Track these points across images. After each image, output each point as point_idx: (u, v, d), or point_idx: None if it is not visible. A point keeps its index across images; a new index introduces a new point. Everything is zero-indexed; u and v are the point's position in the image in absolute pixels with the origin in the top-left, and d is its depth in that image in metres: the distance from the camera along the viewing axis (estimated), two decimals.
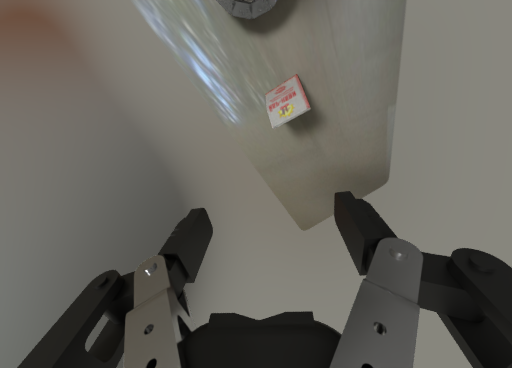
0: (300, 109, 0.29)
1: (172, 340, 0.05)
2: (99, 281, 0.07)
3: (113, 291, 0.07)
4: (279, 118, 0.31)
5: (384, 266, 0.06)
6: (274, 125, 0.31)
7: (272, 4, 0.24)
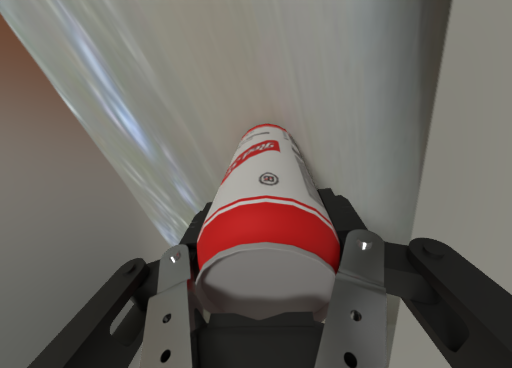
0: None
1: (186, 335, 0.05)
2: (127, 268, 0.07)
3: (141, 277, 0.07)
4: None
5: (349, 254, 0.06)
6: None
7: None
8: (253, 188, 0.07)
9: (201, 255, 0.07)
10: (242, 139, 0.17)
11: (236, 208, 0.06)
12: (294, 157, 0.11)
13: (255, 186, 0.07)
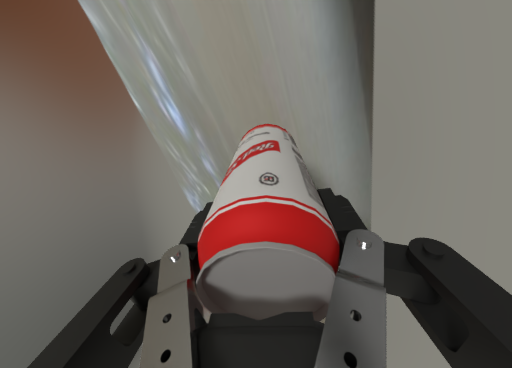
0: None
1: (186, 335, 0.05)
2: (127, 268, 0.07)
3: (141, 277, 0.07)
4: None
5: (349, 254, 0.06)
6: None
7: None
8: (254, 188, 0.07)
9: (202, 254, 0.07)
10: (242, 139, 0.17)
11: (236, 208, 0.06)
12: (294, 157, 0.11)
13: (255, 186, 0.07)
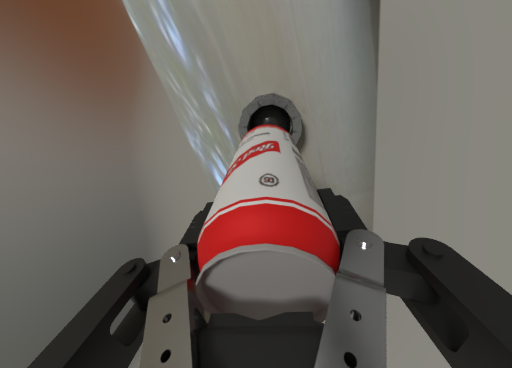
0: None
1: (187, 335, 0.05)
2: (127, 268, 0.07)
3: (141, 277, 0.07)
4: None
5: (349, 254, 0.06)
6: None
7: None
8: (254, 189, 0.07)
9: (201, 256, 0.07)
10: (242, 140, 0.17)
11: (236, 209, 0.06)
12: (294, 158, 0.11)
13: (255, 187, 0.07)
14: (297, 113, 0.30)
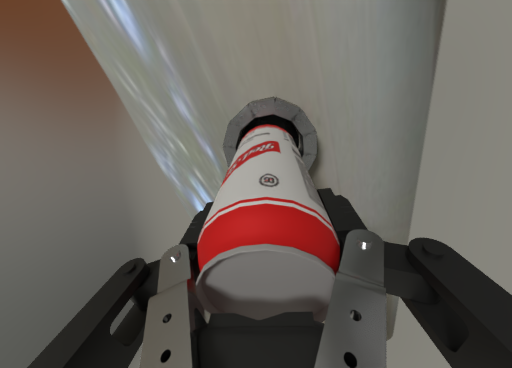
0: None
1: (187, 335, 0.05)
2: (128, 268, 0.07)
3: (141, 277, 0.07)
4: None
5: (349, 254, 0.06)
6: None
7: None
8: (254, 189, 0.07)
9: (202, 256, 0.07)
10: (242, 140, 0.17)
11: (236, 209, 0.06)
12: (294, 158, 0.11)
13: (255, 187, 0.07)
14: (311, 128, 0.20)
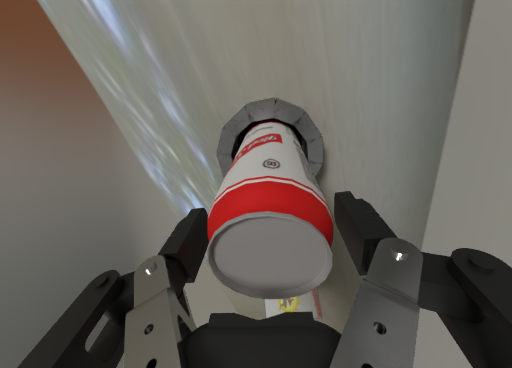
0: (308, 311, 0.22)
1: (172, 340, 0.05)
2: (99, 281, 0.07)
3: (113, 291, 0.07)
4: (278, 310, 0.23)
5: (384, 266, 0.06)
6: None
7: None
8: (258, 170, 0.08)
9: (211, 227, 0.08)
10: (247, 134, 0.18)
11: (243, 186, 0.07)
12: (295, 148, 0.12)
13: (259, 169, 0.08)
14: (316, 133, 0.17)
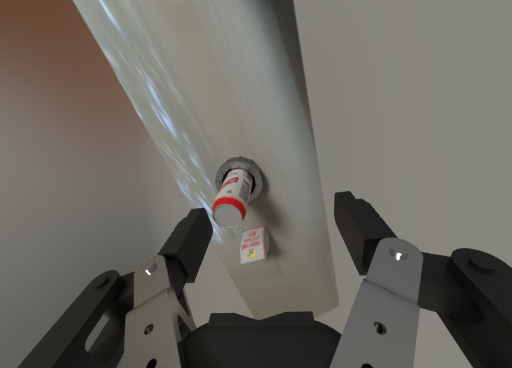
0: (260, 256, 0.44)
1: (172, 340, 0.05)
2: (99, 281, 0.07)
3: (113, 291, 0.07)
4: (246, 257, 0.46)
5: (384, 266, 0.06)
6: (242, 262, 0.45)
7: (250, 200, 0.45)
8: (225, 193, 0.32)
9: (213, 208, 0.31)
10: (228, 173, 0.42)
11: (220, 198, 0.31)
12: (241, 184, 0.35)
13: (225, 193, 0.32)
14: (257, 173, 0.41)
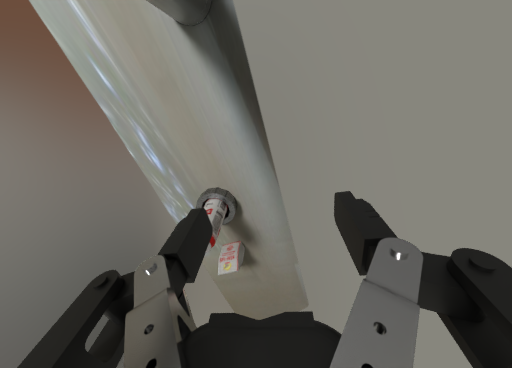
0: (233, 269, 0.54)
1: (172, 340, 0.05)
2: (99, 281, 0.07)
3: (113, 291, 0.07)
4: (222, 269, 0.55)
5: (384, 266, 0.06)
6: (219, 273, 0.54)
7: (226, 223, 0.53)
8: None
9: None
10: (206, 202, 0.50)
11: None
12: (214, 215, 0.44)
13: None
14: (230, 202, 0.50)
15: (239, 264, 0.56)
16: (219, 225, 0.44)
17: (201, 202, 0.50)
